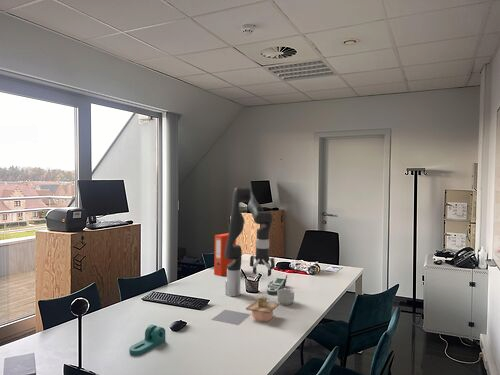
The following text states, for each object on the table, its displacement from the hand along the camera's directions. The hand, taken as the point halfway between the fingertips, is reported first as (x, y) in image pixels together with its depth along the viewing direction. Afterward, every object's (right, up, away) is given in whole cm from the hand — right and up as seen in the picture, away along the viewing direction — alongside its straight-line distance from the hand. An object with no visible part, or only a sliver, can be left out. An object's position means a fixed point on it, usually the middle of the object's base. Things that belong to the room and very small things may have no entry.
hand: (262, 275), depth 209 cm
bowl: (0, -24, -1) cm, 24 cm away
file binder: (-27, -21, +93) cm, 99 cm away
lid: (0, -18, -1) cm, 18 cm away
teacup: (+16, -24, +25) cm, 38 cm away
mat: (-17, -24, -1) cm, 30 cm away
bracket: (-55, -25, -37) cm, 71 cm away
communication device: (+11, -23, +51) cm, 57 cm away
